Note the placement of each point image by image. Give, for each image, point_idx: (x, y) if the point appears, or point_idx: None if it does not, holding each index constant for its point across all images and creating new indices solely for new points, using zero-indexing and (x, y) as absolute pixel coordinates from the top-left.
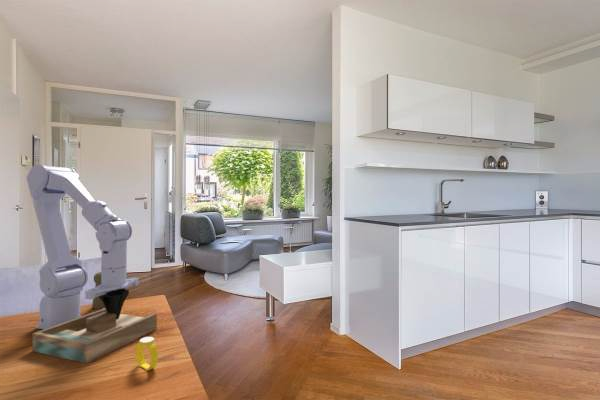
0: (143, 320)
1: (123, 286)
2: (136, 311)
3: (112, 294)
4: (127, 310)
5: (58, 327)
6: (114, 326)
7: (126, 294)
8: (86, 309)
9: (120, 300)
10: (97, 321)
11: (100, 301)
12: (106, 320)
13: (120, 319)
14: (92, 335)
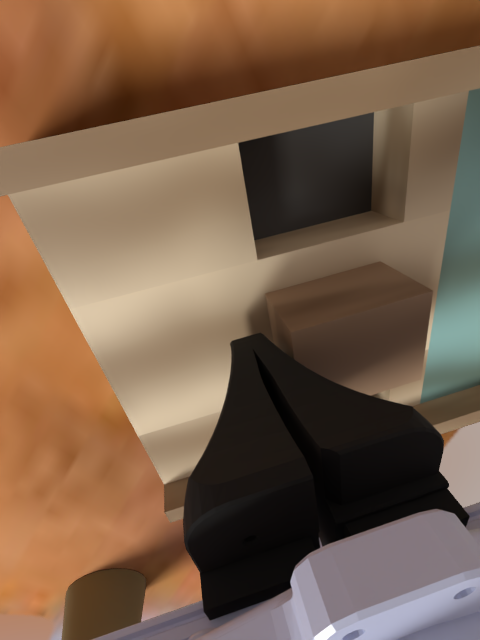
0: (148, 118)
1: (477, 555)
2: (13, 490)
3: (390, 492)
4: (46, 518)
5: (431, 419)
6: (277, 288)
7: (230, 464)
8: (165, 581)
9: (278, 417)
10: (427, 296)
11: (124, 608)
12: (359, 299)
13: (190, 368)
14: (413, 254)
